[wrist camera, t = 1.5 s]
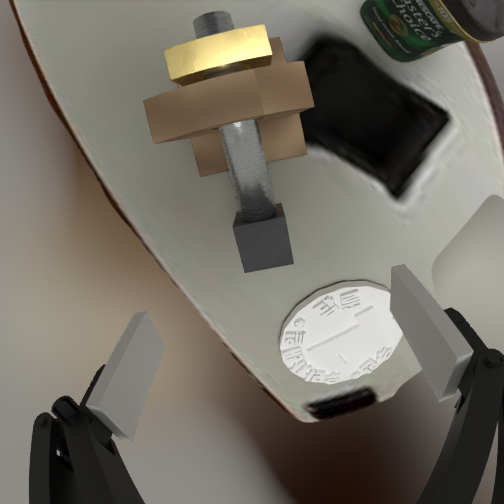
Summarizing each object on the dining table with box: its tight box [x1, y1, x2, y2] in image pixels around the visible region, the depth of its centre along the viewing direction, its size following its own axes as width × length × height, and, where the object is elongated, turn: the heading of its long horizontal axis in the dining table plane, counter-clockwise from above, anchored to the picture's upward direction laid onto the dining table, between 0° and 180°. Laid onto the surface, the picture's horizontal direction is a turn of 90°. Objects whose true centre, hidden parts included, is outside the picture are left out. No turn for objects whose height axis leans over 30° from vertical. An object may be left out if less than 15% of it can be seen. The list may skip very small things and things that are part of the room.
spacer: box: [164, 24, 272, 87], centre depth 18 cm, size 2×7×7 cm, turn 103°
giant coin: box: [279, 281, 403, 384], centre depth 40 cm, size 20×20×3 cm
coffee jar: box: [361, 0, 504, 62], centre depth 14 cm, size 10×8×19 cm
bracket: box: [143, 37, 314, 177], centre depth 21 cm, size 14×12×15 cm
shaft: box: [193, 11, 294, 273], centre depth 20 cm, size 21×4×4 cm, turn 13°
